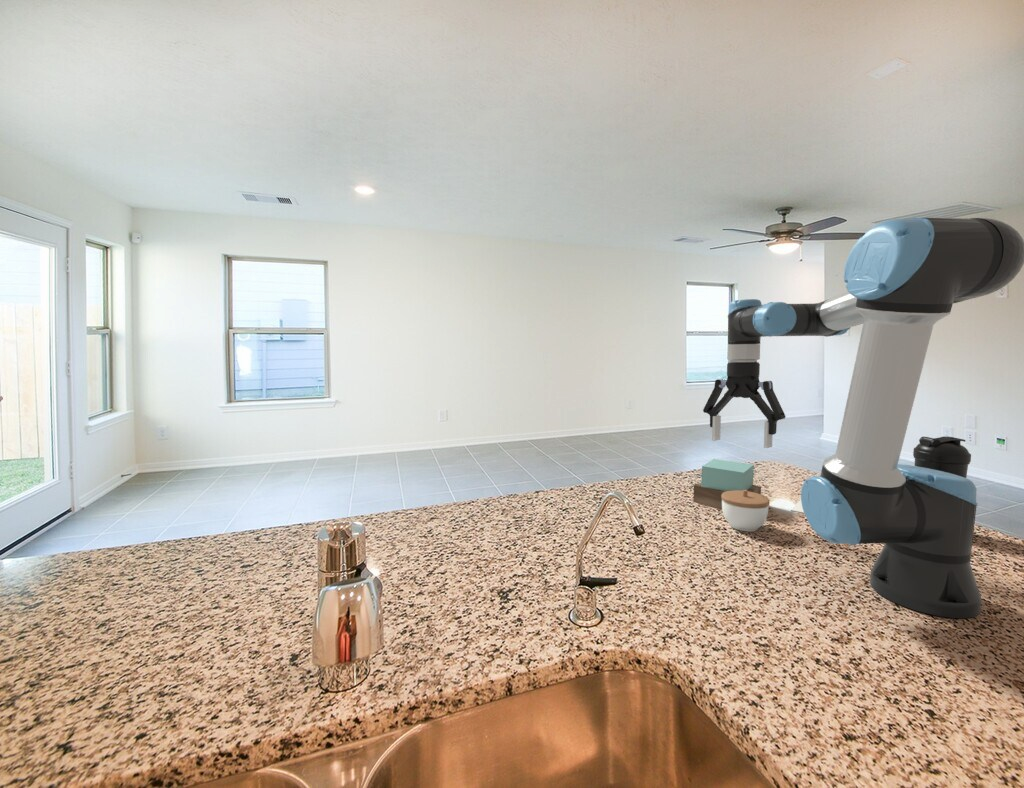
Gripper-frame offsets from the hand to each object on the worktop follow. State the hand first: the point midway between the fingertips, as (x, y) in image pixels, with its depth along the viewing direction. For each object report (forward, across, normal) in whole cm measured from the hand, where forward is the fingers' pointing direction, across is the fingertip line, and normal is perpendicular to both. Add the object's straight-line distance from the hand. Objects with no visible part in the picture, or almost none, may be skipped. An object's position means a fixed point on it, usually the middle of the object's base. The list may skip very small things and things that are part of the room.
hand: (740, 443), depth 123 cm
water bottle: (+20, -33, -28) cm, 48 cm away
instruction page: (+20, -10, -24) cm, 33 cm away
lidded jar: (+20, -4, +5) cm, 21 cm away
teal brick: (+14, +8, -9) cm, 19 cm away
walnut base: (+20, +8, -9) cm, 23 cm away
